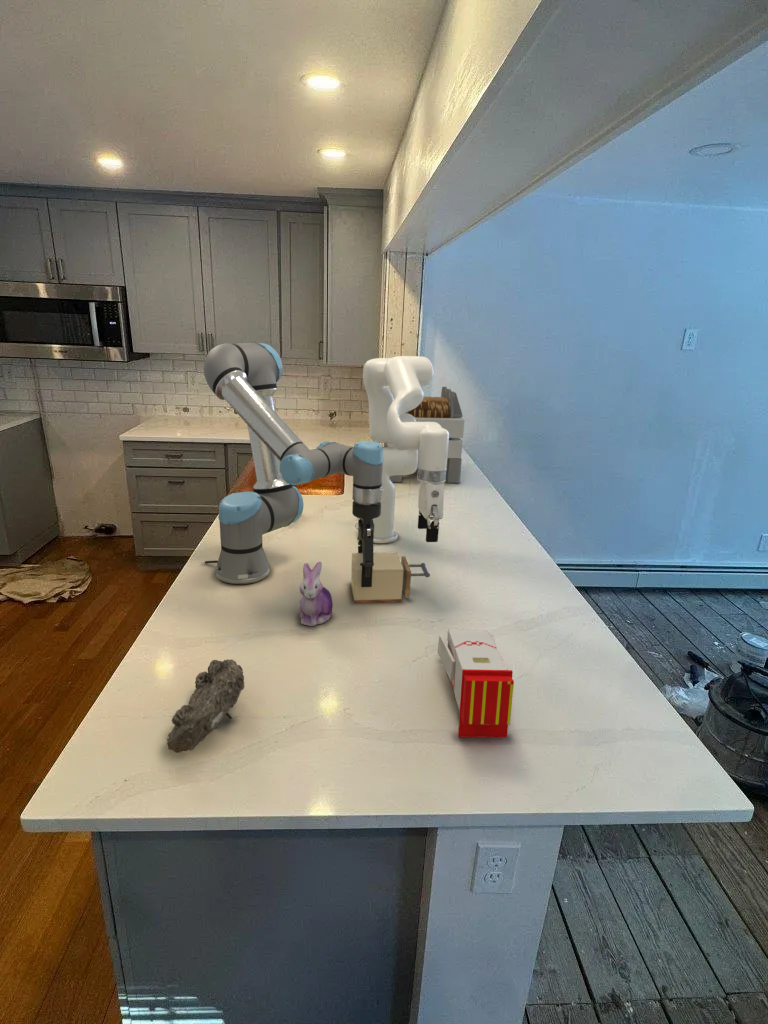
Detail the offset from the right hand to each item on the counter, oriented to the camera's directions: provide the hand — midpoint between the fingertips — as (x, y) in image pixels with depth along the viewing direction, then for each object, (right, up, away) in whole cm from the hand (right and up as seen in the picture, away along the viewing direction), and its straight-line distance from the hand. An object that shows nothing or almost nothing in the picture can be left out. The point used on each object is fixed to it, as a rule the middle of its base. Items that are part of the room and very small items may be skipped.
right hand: (427, 534), depth 155 cm
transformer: (+5, +25, +120) cm, 123 cm away
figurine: (-29, -21, -11) cm, 38 cm away
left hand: (-17, -11, +1) cm, 21 cm away
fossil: (-45, -33, -47) cm, 73 cm away
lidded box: (-14, -16, +3) cm, 22 cm away
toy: (+6, -31, -36) cm, 49 cm away
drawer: (-9, -15, +3) cm, 18 cm away
